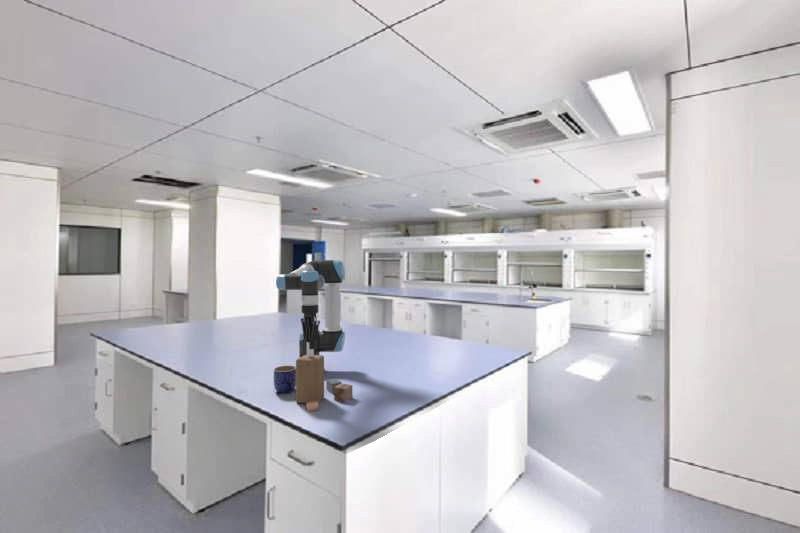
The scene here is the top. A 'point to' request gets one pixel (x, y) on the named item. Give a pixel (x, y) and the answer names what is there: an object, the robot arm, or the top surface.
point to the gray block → (332, 385)
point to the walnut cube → (343, 392)
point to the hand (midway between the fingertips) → (310, 355)
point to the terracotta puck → (312, 406)
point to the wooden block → (309, 378)
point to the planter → (285, 379)
